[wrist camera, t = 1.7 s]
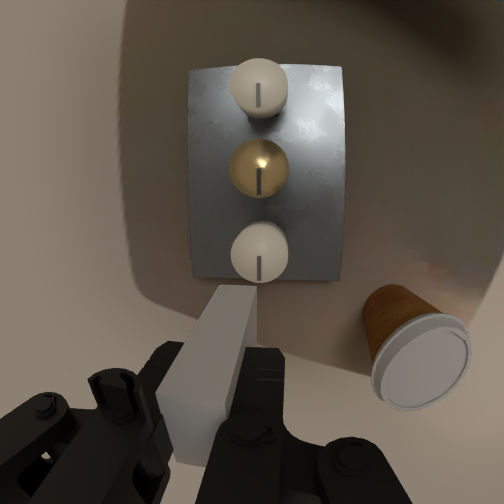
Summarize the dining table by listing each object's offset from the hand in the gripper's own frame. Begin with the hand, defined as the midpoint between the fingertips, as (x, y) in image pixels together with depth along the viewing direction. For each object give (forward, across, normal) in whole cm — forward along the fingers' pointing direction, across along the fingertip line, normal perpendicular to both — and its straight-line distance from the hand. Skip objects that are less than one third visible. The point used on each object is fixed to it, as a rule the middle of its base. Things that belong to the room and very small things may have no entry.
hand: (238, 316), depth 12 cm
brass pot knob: (+15, 0, +6) cm, 16 cm away
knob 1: (+15, 0, +12) cm, 19 cm away
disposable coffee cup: (+18, +14, -8) cm, 25 cm away
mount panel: (+18, 0, +6) cm, 19 cm away
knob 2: (+15, 0, 0) cm, 15 cm away
